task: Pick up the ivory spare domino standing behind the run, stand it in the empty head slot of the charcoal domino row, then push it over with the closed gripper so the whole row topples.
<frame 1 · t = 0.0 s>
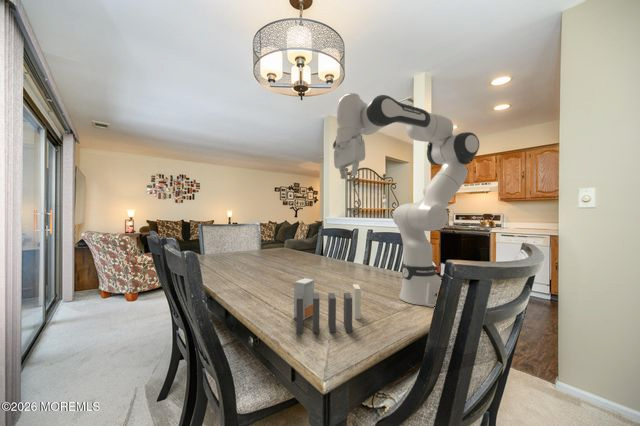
hand: (348, 177, 94), 48 cm above the table, fingers open, 8 cm apart
domino 1: (356, 316, 86), on the table
skincare box: (304, 316, 86), on the table
domino 5: (299, 329, 76), on the table
domino 4: (315, 329, 76), on the table
domino 3: (331, 328, 76), on the table
domino 2: (347, 328, 77), on the table
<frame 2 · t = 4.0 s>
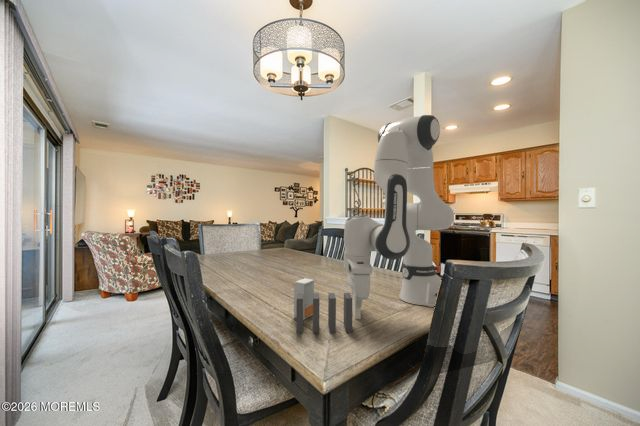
hand: (356, 303, 86), 4 cm above the table, fingers closed on domino 1, 5 cm apart
domino 1: (356, 316, 86), on the table, touching gripper
everything else where it was.
when the fingers open (5 cm above the table, at t = 10.1 s): domino 1 stays where it is, on the table.
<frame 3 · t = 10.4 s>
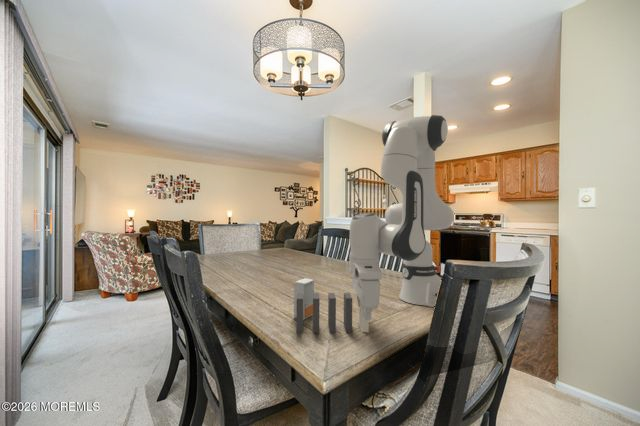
hand: (363, 312, 77), 5 cm above the table, fingers open, 8 cm apart
domino 1: (363, 328, 77), on the table
everything else where it was.
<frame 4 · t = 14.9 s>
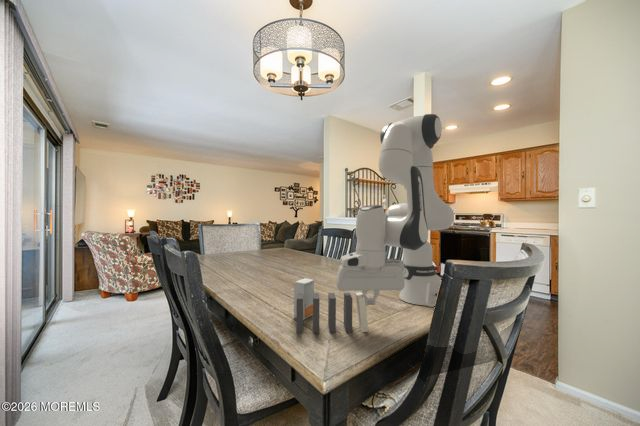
hand: (370, 304, 77), 7 cm above the table, fingers closed
domino 1: (363, 327, 77), on the table, tilted 7°
everything else where it was.
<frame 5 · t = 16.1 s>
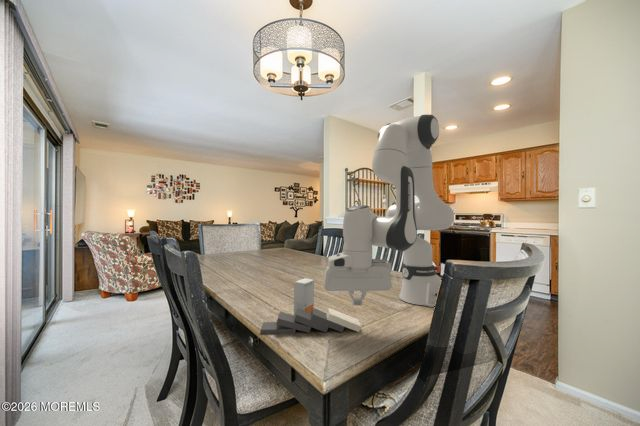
hand: (357, 304, 77), 7 cm above the table, fingers closed
domino 1: (358, 325, 77), point 1 cm above the table, tilted 68°, touching domino 2
domino 5: (295, 328, 76), on the table, tilted 90°, touching domino 4
domino 4: (310, 326, 76), point 1 cm above the table, tilted 75°, touching domino 3, domino 5
domino 3: (326, 326, 77), point 1 cm above the table, tilted 68°, touching domino 2, domino 4
domino 2: (342, 325, 77), point 1 cm above the table, tilted 68°, touching domino 1, domino 3
everything else where it was.
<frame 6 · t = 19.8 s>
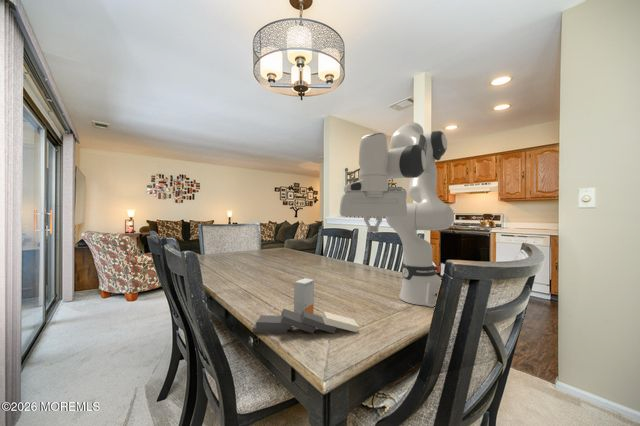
hand: (372, 231, 78), 29 cm above the table, fingers closed
domino 5: (288, 327, 76), on the table, tilted 90°, touching domino 4
domino 4: (291, 322, 76), point 2 cm above the table, tilted 90°, touching domino 3, domino 5
domino 3: (313, 326, 76), point 1 cm above the table, tilted 66°, touching domino 2, domino 4
domino 2: (333, 327, 76), point 1 cm above the table, tilted 68°, touching domino 1, domino 3
at the end: domino 5 tilted 90°; domino 3 tilted 66°; domino 1 inside the target area (2.0 cm from its centre), point 0.8 cm above the table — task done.
